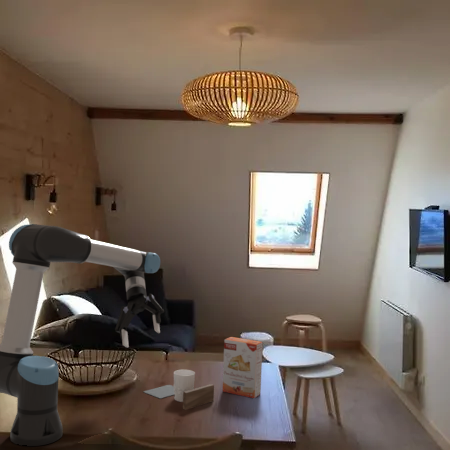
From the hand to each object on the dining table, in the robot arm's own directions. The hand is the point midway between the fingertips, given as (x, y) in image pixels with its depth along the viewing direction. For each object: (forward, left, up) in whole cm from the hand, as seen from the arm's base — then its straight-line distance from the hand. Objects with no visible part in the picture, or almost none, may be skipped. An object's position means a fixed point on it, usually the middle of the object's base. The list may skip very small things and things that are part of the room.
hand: (141, 339), depth 206 cm
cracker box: (+38, +13, -23) cm, 46 cm away
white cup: (+16, +5, -23) cm, 29 cm away
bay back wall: (+21, -1, -23) cm, 32 cm away
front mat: (+8, +13, -23) cm, 28 cm away
